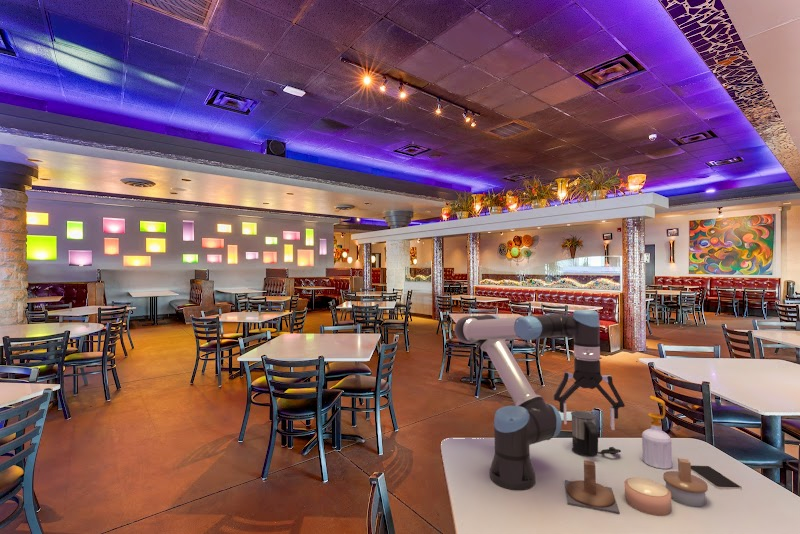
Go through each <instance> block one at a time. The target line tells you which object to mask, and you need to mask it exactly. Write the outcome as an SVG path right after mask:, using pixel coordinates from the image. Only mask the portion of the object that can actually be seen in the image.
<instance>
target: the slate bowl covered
mask: <svg viewBox="0 0 800 534" xmlns="http://www.w3.org/2000/svg"><path fill="white" fill-rule="evenodd" d="M691 465H692V463H691V461H689V459H686V458H681V457H680V458H677V470H678V471H677V470H668V471H665V472H663V474H662V477H663V478H662V479H663V481H664V482H665V487H667V488H668V489H669V490H670V492H671V501H672V500H673V501H674V502H677V503H678V504H682V505H684V506H689V507H696V508H698V507H699V508H701V507H704V506H706V504H707V503H706V492H707V491H708V482H707V481H706V480H704V479H703V478H701V477H699V476H696V475H693V474H692V471H691Z"/></svg>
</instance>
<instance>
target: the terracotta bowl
mask: <svg viewBox="0 0 800 534" xmlns="http://www.w3.org/2000/svg"><path fill="white" fill-rule="evenodd" d="M624 500H625V502H626V503H627V504H628V505H629V506H630V507H632V508H633V509H635V510H637V511H639V512H642V513H644V514H647V515H651V516H659V517H660V516H662V517H663V516H668V515H671V514H672V499H671V492H670V490H669V489H668V488H667V487H666V485H664V484H662V483H660V482H657V481H654V480H652V479H649V478H644V477H628V478H626V479H625V480H624Z"/></svg>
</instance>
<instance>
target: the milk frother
mask: <svg viewBox="0 0 800 534" xmlns="http://www.w3.org/2000/svg"><path fill="white" fill-rule="evenodd" d="M570 414H571V432H572V433H571V435H572V436H571V437H572V438H571V439H572V442H571V443H572V446H571V451H572V452H573V453H574V454H577V455H578V456H584V457H596V456H597V455H598V454H599V455H601V454H602V455H603V454H606V455H607V454H608V455H609V454H611V455H616V454H618V453H622V451H621V449H619V448H615V447H614V446H609V448H606V449H602V450H601V451H599V431H598V428H597V426H596V418H597V415H596V414H595V413H592V412H589V411H582V410H574V411H572V412H570Z"/></svg>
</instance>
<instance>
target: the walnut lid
mask: <svg viewBox="0 0 800 534" xmlns="http://www.w3.org/2000/svg"><path fill="white" fill-rule="evenodd" d="M596 475H597V474H596V463H595V461H592V460H586V459H583V479H584V480H573V481H572V480H571V481H572V482H570V483H569V484H568V485H567V493H568V495H569V496H570V497H571V498H572V499H574V500H575V501H577V502H579V503H582V504H584V505H587V506H591V507H597V508H606V507H610V506H612V505H613V504H614V503H615V500H616V497H615V494H614V492H613V493H612V492H611V491H610V490H609V489H608V488H606V487H607V486H604V485H602V484H599V483H597V482H596V480H597V479H596V477H597V476H596Z"/></svg>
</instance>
